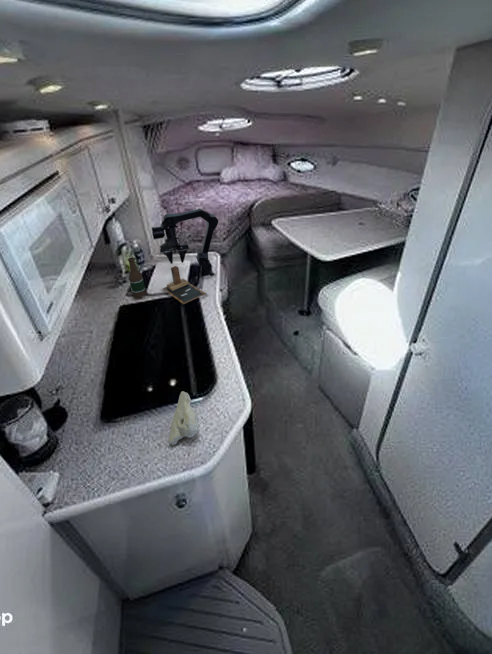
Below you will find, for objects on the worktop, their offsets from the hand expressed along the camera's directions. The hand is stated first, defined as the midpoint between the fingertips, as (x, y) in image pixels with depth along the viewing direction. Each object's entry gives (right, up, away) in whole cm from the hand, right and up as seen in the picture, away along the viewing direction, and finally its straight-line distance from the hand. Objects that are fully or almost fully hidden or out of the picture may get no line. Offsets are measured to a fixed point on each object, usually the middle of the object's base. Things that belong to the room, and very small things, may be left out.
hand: (177, 263), depth 195 cm
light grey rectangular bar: (+5, -18, -5) cm, 20 cm away
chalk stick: (+7, -16, -1) cm, 17 cm away
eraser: (0, -14, +3) cm, 14 cm away
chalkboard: (+4, -17, -1) cm, 18 cm away
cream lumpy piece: (+19, -60, -79) cm, 101 cm away
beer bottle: (-21, -19, -1) cm, 29 cm away
